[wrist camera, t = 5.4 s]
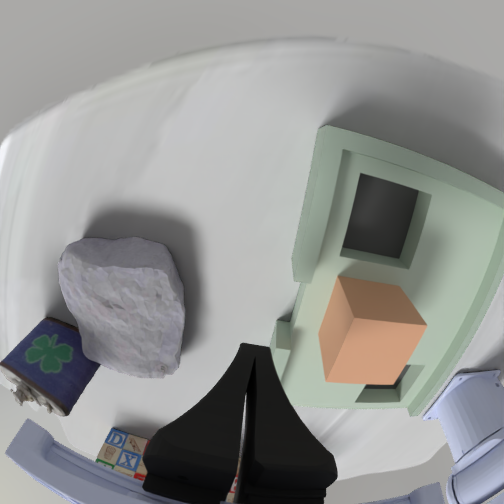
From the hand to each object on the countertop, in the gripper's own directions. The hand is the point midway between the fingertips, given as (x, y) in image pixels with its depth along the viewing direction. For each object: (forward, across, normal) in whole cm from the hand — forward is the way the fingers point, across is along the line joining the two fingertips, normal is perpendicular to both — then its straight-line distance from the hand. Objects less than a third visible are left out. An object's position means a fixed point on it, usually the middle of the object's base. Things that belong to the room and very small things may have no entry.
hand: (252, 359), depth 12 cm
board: (+7, -10, 0) cm, 12 cm away
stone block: (+8, +10, +4) cm, 13 cm away
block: (+5, -7, 0) cm, 8 cm away
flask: (+8, +18, +10) cm, 22 cm away
